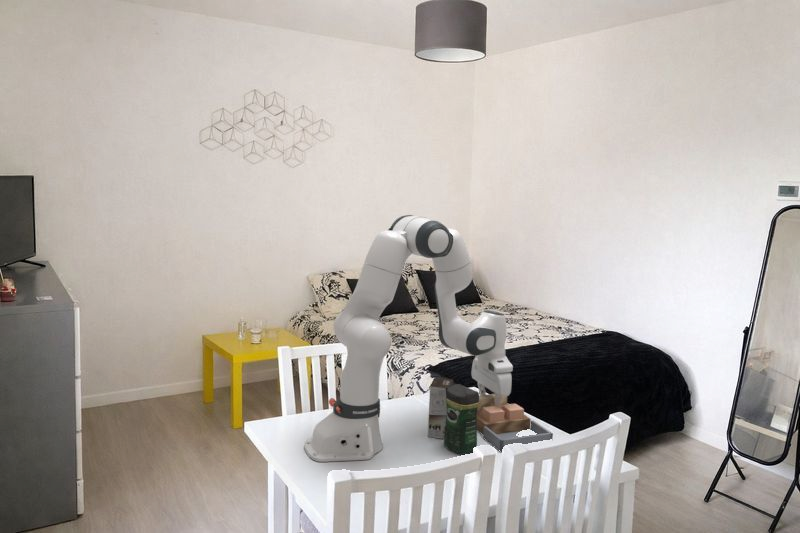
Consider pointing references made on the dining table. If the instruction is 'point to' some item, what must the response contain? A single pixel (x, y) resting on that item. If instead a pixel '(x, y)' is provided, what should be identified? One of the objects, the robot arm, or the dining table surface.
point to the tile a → (493, 414)
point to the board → (502, 424)
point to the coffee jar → (461, 419)
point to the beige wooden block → (490, 401)
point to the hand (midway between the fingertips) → (489, 400)
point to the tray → (511, 437)
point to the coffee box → (438, 407)
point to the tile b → (513, 411)
